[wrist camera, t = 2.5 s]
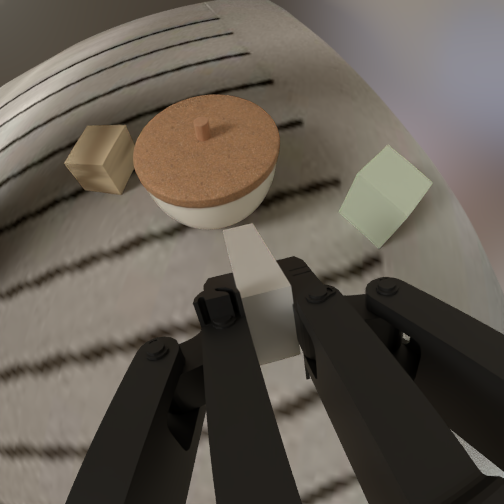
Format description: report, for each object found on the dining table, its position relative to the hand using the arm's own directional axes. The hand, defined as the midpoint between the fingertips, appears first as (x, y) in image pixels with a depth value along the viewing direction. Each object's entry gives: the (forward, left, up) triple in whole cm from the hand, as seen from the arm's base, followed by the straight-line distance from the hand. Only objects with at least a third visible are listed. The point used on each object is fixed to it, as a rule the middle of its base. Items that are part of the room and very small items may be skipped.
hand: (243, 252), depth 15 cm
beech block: (-19, +5, -9) cm, 22 cm away
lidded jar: (-7, +7, -9) cm, 14 cm away
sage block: (+7, +12, -9) cm, 17 cm away
